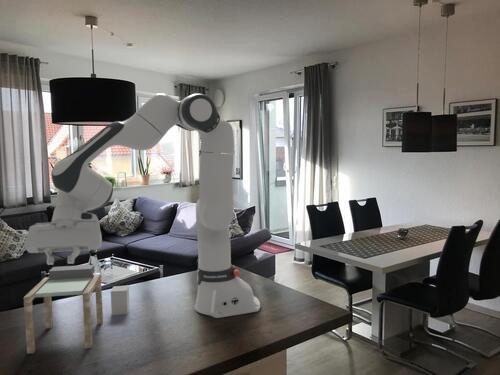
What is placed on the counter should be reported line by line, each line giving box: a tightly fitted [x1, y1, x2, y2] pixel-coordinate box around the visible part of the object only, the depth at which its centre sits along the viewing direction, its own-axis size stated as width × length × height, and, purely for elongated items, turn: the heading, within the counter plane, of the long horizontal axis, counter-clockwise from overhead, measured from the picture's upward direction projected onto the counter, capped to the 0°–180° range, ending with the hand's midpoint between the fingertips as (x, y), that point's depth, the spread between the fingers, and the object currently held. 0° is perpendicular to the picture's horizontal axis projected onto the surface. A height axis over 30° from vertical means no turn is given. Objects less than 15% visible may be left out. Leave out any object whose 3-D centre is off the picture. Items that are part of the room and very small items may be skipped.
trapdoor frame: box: [23, 273, 104, 355], centre depth 115 cm, size 16×17×16 cm
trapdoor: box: [35, 264, 95, 298], centre depth 116 cm, size 12×16×4 cm
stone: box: [110, 284, 130, 316], centre depth 133 cm, size 5×5×8 cm
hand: (60, 263), depth 110 cm, fingers open, 4 cm apart
